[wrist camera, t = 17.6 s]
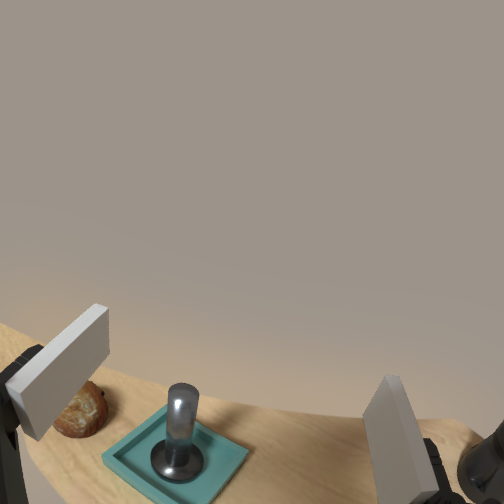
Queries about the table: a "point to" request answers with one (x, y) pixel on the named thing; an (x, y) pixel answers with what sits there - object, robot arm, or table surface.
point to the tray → (164, 493)
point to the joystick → (179, 438)
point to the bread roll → (83, 413)
